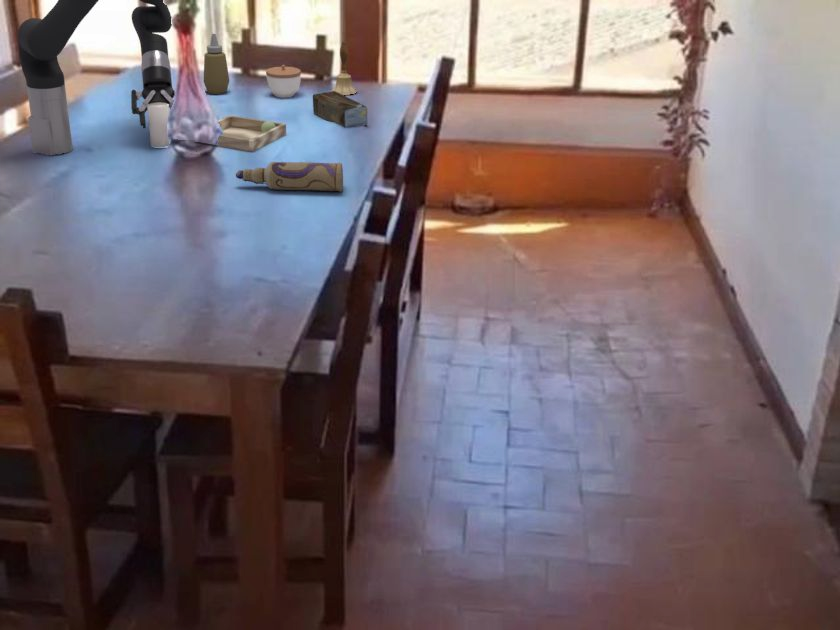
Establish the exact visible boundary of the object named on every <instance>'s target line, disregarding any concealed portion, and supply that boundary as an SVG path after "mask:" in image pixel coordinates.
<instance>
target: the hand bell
mask: <svg viewBox="0 0 840 630" xmlns="http://www.w3.org/2000/svg"><path fill="white" fill-rule="evenodd" d="M339 56H340V60H341V61H340V62H341V70H340V71H341V72H340V73H339V74H337V76H336V81H335V82H336V83H335V84H334V87H333V88H332V90H331V91H330V92H332V91H335V92H338V93H340V94H342V95H346V96H351V95H350V94H354V93H356V92H357V93H358V90H357V89H356V88H355V87H354V84H353V81H352V76H351V75H350V74H349V73H348V70H347V65H348V64H347V63H348V59H349V58H348V57H349V49H348V44H347V41H341V45H340V48H339ZM357 93H356V94H357ZM354 95H355V94H354Z"/></svg>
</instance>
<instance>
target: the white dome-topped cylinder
mask: <svg viewBox="0 0 840 630" xmlns="http://www.w3.org/2000/svg"><path fill="white" fill-rule="evenodd" d="M147 106H148V111H147V116H148V127H149V128H148V130H149V137H150V138H149V139H150V140H149V141H150V147H151V146H153V147H165V146H168V145H169V141H168V137H167V119H168V116H170V108H169V104H167V103H162V102H157V103H150V104H148V105H147ZM169 146H170V145H169Z"/></svg>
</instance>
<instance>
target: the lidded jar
mask: <svg viewBox="0 0 840 630" xmlns="http://www.w3.org/2000/svg"><path fill="white" fill-rule="evenodd" d="M265 74H266V75H265V76H266V83H267V86H268V87H267V88H268V89H269V91H270V93H272V94H273V95H274V97H276V98H285V99H286V98H292V97H294V95H295V94H296V93H297V92H298V90H299V88H300V85H301V78H302V77H301V75H302V71H301V69H300V68H297V67H294V66H286V65H285V64H281V66H275V67H270V68H268V69H266V70H265Z"/></svg>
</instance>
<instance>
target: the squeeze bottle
mask: <svg viewBox="0 0 840 630" xmlns="http://www.w3.org/2000/svg"><path fill="white" fill-rule="evenodd" d="M206 51H207V52H206V53H204V59H203V84H204V86H205V89H206V91H207V93H208V94H212V95H223V94H225V93H227V92H228V87H229V84H230V77H229V70H228V64H227V56H226V53H225V52H223V46H222V45H221V44H219V41H218V38H217V34H216V33H211V37H210V44H208V45H207V46H206Z"/></svg>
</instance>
